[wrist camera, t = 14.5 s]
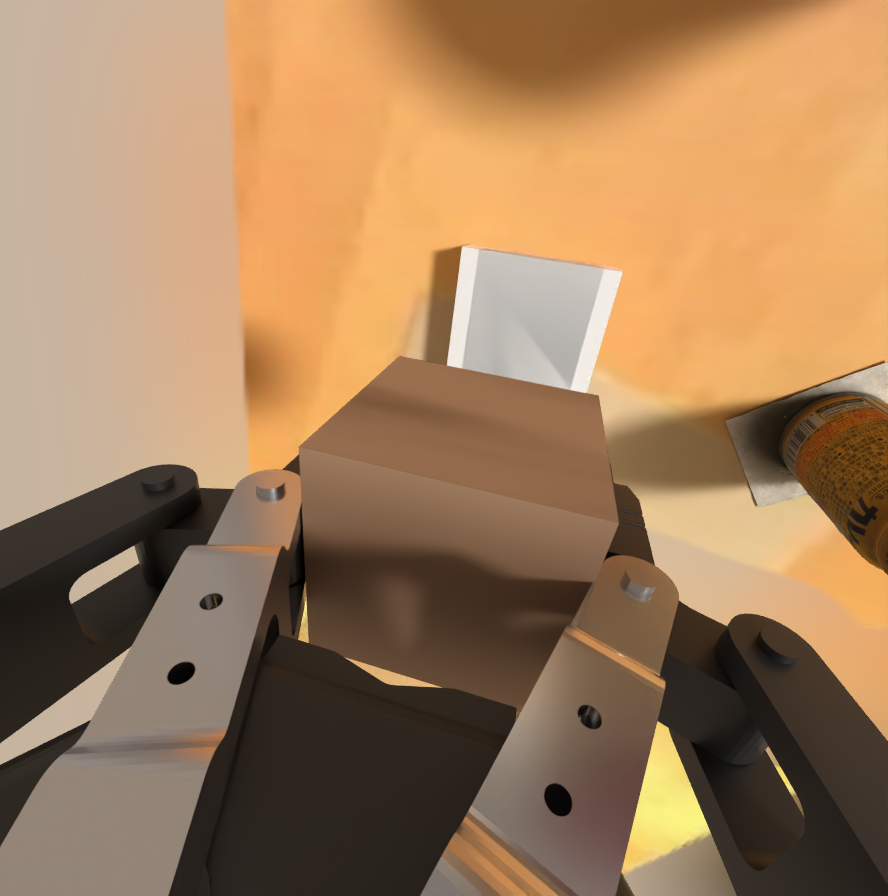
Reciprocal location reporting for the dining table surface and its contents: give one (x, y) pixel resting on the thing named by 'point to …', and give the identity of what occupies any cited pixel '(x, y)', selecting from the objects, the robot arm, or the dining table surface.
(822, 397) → the condiment
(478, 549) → the walnut block
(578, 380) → the channel
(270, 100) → the dining table surface
